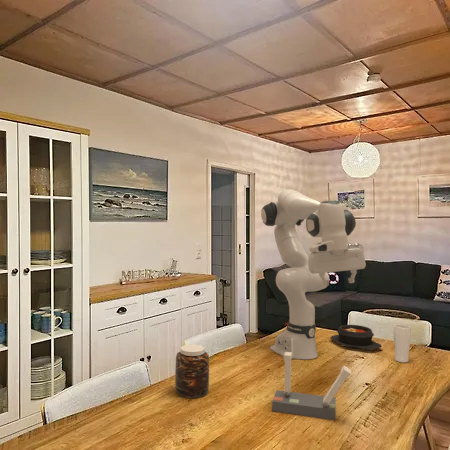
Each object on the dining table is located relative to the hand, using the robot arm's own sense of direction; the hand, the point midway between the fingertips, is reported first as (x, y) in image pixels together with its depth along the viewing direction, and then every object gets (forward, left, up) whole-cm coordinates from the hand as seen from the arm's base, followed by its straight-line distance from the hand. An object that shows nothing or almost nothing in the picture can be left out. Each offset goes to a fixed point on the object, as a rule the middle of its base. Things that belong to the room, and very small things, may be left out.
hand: (338, 284), depth 143 cm
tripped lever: (-1, -24, -33) cm, 41 cm away
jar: (-27, -44, -37) cm, 64 cm away
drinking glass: (-3, +47, -37) cm, 60 cm away
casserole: (-28, +49, -37) cm, 68 cm away
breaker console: (+4, -22, -37) cm, 43 cm away
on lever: (+11, -20, -33) cm, 40 cm away
